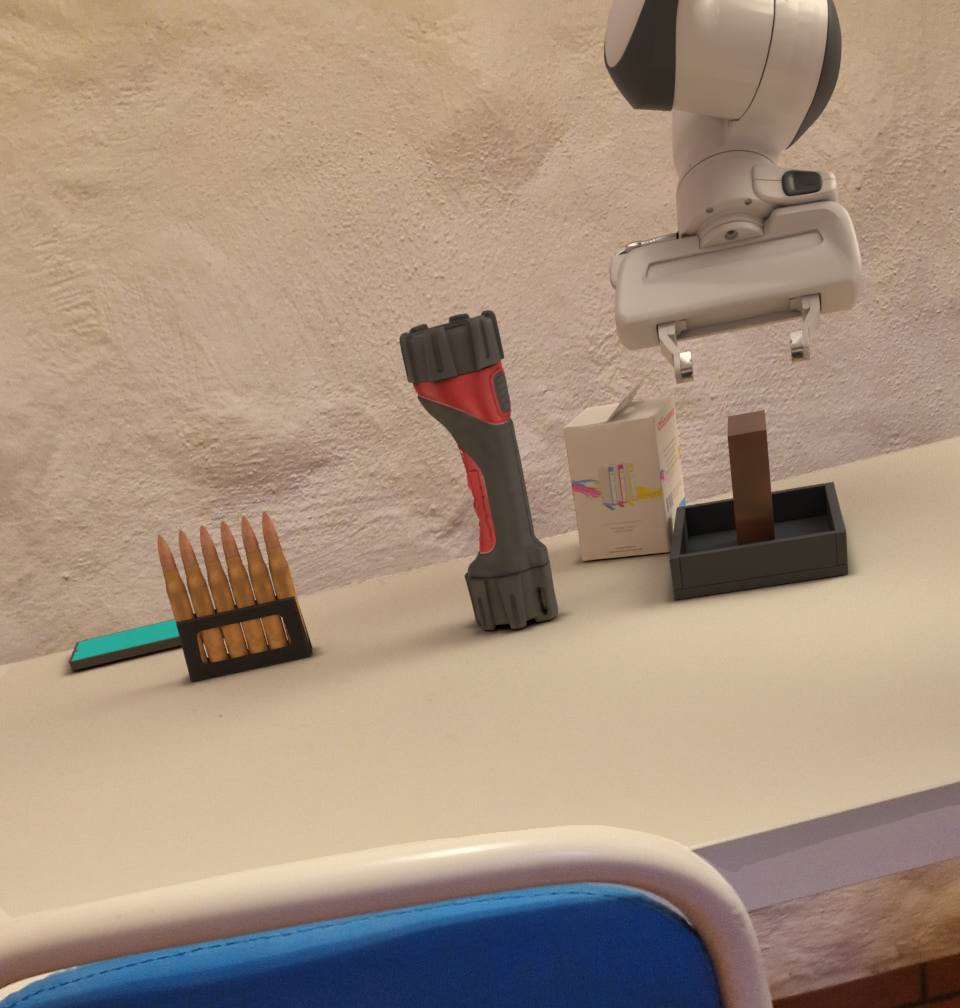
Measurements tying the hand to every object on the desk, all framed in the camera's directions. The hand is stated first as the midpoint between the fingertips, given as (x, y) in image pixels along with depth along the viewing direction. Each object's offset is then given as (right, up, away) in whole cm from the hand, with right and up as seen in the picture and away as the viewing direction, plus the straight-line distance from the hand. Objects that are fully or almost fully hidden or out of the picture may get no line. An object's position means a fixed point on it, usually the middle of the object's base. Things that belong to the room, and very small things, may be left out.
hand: (741, 367), depth 115 cm
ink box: (-7, -10, +14) cm, 19 cm away
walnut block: (+2, -14, +2) cm, 14 cm away
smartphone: (-53, -18, +18) cm, 58 cm away
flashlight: (-19, -20, +2) cm, 28 cm away
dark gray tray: (+2, -15, +3) cm, 15 cm away
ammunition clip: (-41, -23, +5) cm, 48 cm away
